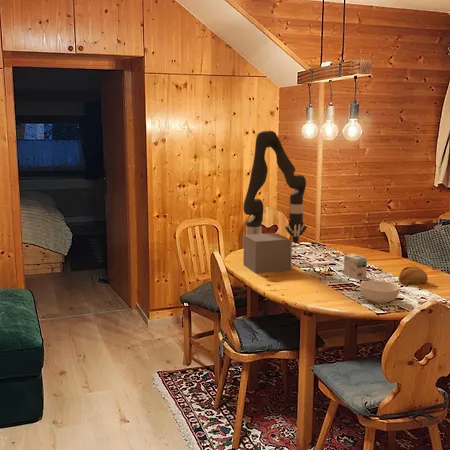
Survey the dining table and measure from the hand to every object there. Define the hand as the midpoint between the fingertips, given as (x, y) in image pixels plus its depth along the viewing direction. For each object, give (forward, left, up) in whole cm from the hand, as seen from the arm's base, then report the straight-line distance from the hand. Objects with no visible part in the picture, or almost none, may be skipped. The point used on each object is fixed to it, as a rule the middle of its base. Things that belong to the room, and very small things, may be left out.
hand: (295, 242), depth 302 cm
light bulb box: (+30, +20, -13) cm, 38 cm away
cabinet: (0, -17, -13) cm, 21 cm away
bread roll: (+49, +41, -13) cm, 65 cm away
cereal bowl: (+68, +9, -13) cm, 69 cm away
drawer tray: (0, -16, -12) cm, 20 cm away
